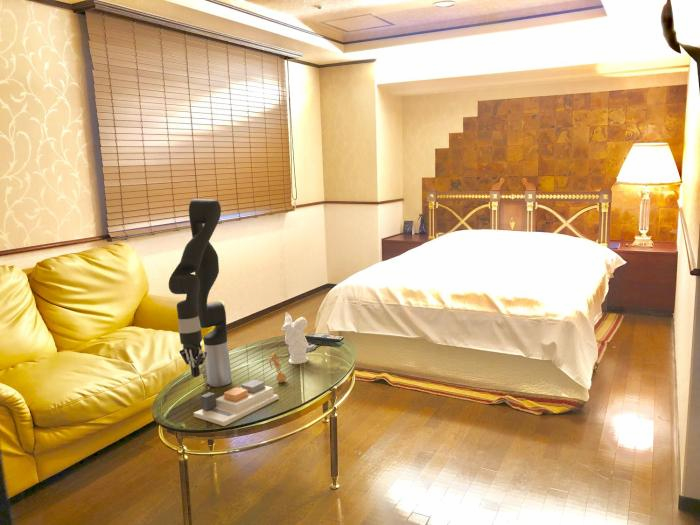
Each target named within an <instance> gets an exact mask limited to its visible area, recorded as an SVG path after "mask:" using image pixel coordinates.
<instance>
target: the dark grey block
mask: <svg viewBox="0 0 700 525" xmlns="http://www.w3.org/2000/svg"><path fill="white" fill-rule="evenodd" d="M216 399H217V397H216V393H214V392H211V391H209V392H206V393H204V394H201V395H200V400H201V401H200V402H201V409H203V410H206V411H209V410H211V409H213V408H215V407H217V405H216Z"/></svg>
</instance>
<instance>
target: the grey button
mask: <svg viewBox="0 0 700 525" xmlns="http://www.w3.org/2000/svg"><path fill="white" fill-rule="evenodd" d="M265 386H266V383H265V381H261V380H258V379H251V380H249V381H247V382H244V383H242V384H241V387H242V389H246V390H248V393H252V394H254V393H256V392H258V391H260V390H262V389H264V388H265Z"/></svg>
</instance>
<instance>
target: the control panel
mask: <svg viewBox="0 0 700 525" xmlns="http://www.w3.org/2000/svg"><path fill="white" fill-rule="evenodd" d="M240 388H242V386H241V387H240ZM277 400H279V395H278V394H276V393H274V388H273V387H272V386H268V385H265V388H264V389H262V390H260V391H258V392H256V393H254V394H252V393H248V396H247V397H245V398H243V399H241V400H239V401H237V402H233V401H229V400H226V399H224V394H223V395H221V396H220V397H216V405H217V407H215V408H213V409H211V410H209V411H206V410H203V409H202V408H201V409H199V410H197V411H193V417H194V418H197V419H200V420H204V421H207V422H210V423H213V424H216V425H220V426H223V427H225V426H227V425H229V424H231V423H233V422H235V421H238V420H240V419H241V418H243V417H245V416H247V415H249V414H251V413H254V412H255V411H257V410H259V409H261V408H263V407H265V406H267V405H269V404H271V403H273V402H275V401H277Z"/></svg>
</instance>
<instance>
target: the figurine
mask: <svg viewBox="0 0 700 525" xmlns="http://www.w3.org/2000/svg"><path fill="white" fill-rule="evenodd" d="M278 358H279V360H281V361H282V362H284V360H283V359H282V358H281V357H280V356H279V355H278V354H277V353H276V352H275V353H272V354H271V355H270V358H269V362H268V363H269V366H270V368H271V369H273V366H274V367H275V369H276V372H277V374H276V376H275V377H276V381H277V382H278V383H280V384H281V383H282V384H283V383H285V382H286V380H287V375H286V373H284V372H283V371H282V370H280V369H281V367H282V364H280V362H279V360H278ZM271 361H272V362H273V366H272V362H271Z"/></svg>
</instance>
